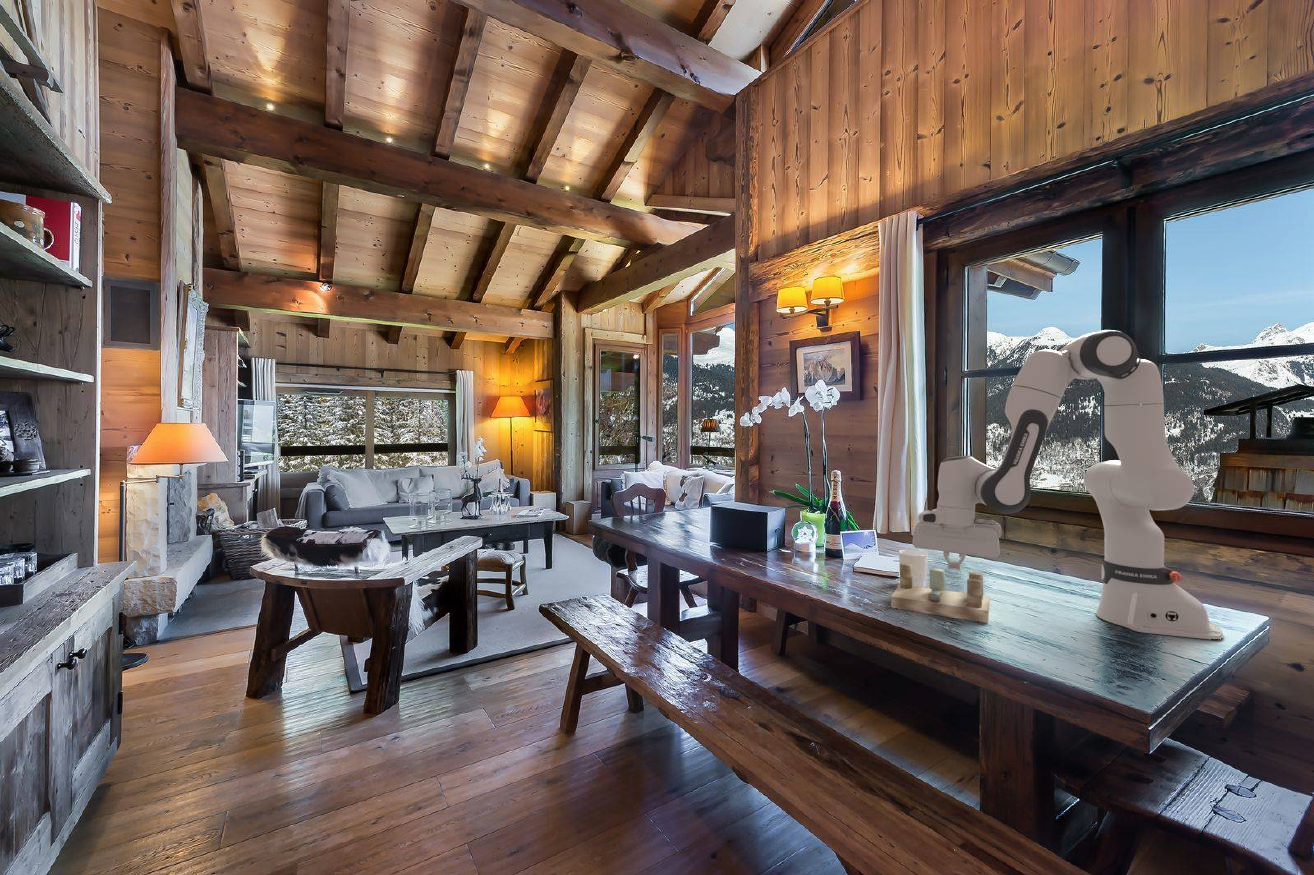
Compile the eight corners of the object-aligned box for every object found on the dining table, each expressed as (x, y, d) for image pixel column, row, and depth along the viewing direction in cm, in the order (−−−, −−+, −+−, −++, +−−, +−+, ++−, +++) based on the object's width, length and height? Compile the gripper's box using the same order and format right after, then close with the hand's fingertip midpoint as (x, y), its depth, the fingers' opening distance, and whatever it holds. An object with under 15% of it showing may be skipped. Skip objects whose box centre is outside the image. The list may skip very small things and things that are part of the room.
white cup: (921, 582, 170) (921, 549, 170) (931, 589, 163) (932, 555, 162) (895, 581, 171) (895, 549, 171) (903, 589, 163) (904, 555, 163)
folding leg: (941, 601, 141) (941, 578, 141) (925, 599, 143) (925, 576, 143) (945, 591, 150) (945, 569, 149) (930, 589, 152) (930, 567, 151)
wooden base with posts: (989, 607, 146) (989, 572, 146) (987, 623, 135) (988, 585, 135) (899, 594, 158) (899, 562, 158) (891, 607, 147) (891, 572, 146)
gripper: (1002, 519, 143) (1000, 572, 144) (915, 511, 154) (914, 561, 155) (1001, 522, 138) (1000, 578, 138) (912, 514, 149) (910, 565, 149)
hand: (954, 569), depth 147 cm, fingers closed
